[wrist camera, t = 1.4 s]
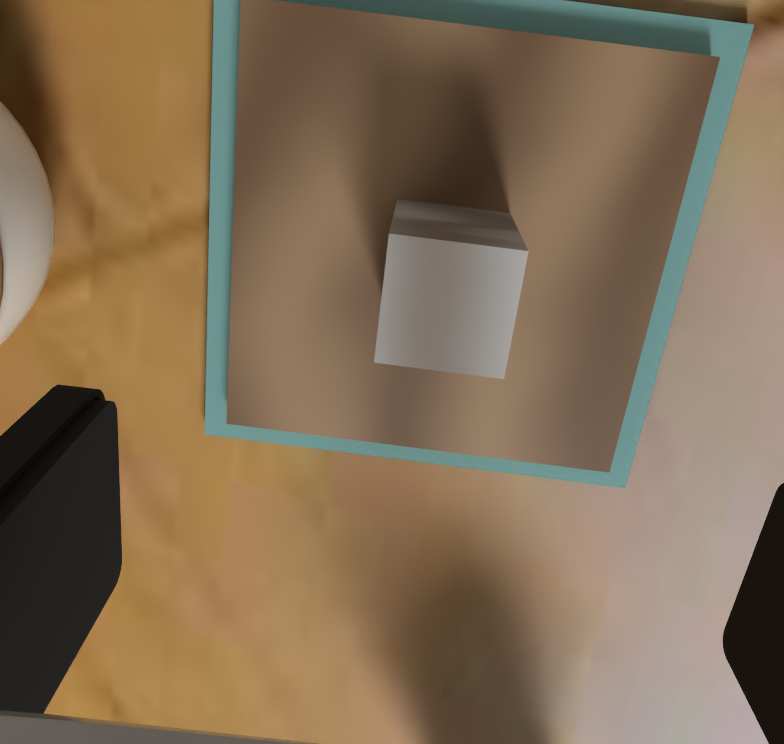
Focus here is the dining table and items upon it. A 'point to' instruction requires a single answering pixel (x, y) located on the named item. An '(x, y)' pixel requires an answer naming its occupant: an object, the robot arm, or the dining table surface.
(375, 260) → the walnut cover
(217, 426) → the teal mat
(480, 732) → the dining table surface
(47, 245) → the lidded jar
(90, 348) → the dining table surface
